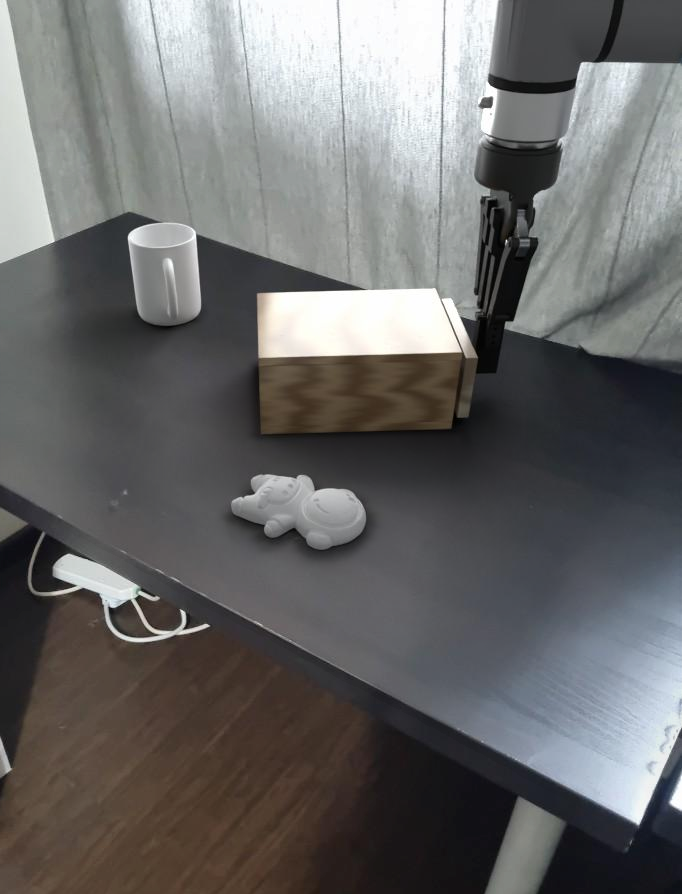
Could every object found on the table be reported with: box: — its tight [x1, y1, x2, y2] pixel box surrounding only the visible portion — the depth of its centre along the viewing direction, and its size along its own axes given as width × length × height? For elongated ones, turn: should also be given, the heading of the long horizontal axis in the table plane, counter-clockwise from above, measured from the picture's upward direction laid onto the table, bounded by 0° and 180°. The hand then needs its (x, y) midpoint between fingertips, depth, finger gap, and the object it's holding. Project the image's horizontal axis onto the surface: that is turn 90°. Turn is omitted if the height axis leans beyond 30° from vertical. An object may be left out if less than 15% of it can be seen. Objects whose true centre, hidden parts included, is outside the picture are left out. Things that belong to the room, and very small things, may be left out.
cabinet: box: [256, 287, 462, 435], centre depth 88 cm, size 20×15×9 cm
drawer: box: [440, 298, 478, 419], centre depth 88 cm, size 20×14×7 cm
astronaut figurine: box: [230, 473, 367, 551], centre depth 74 cm, size 9×12×3 cm
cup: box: [127, 222, 202, 327], centre depth 103 cm, size 8×12×10 cm
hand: (482, 370), depth 90 cm, fingers closed
